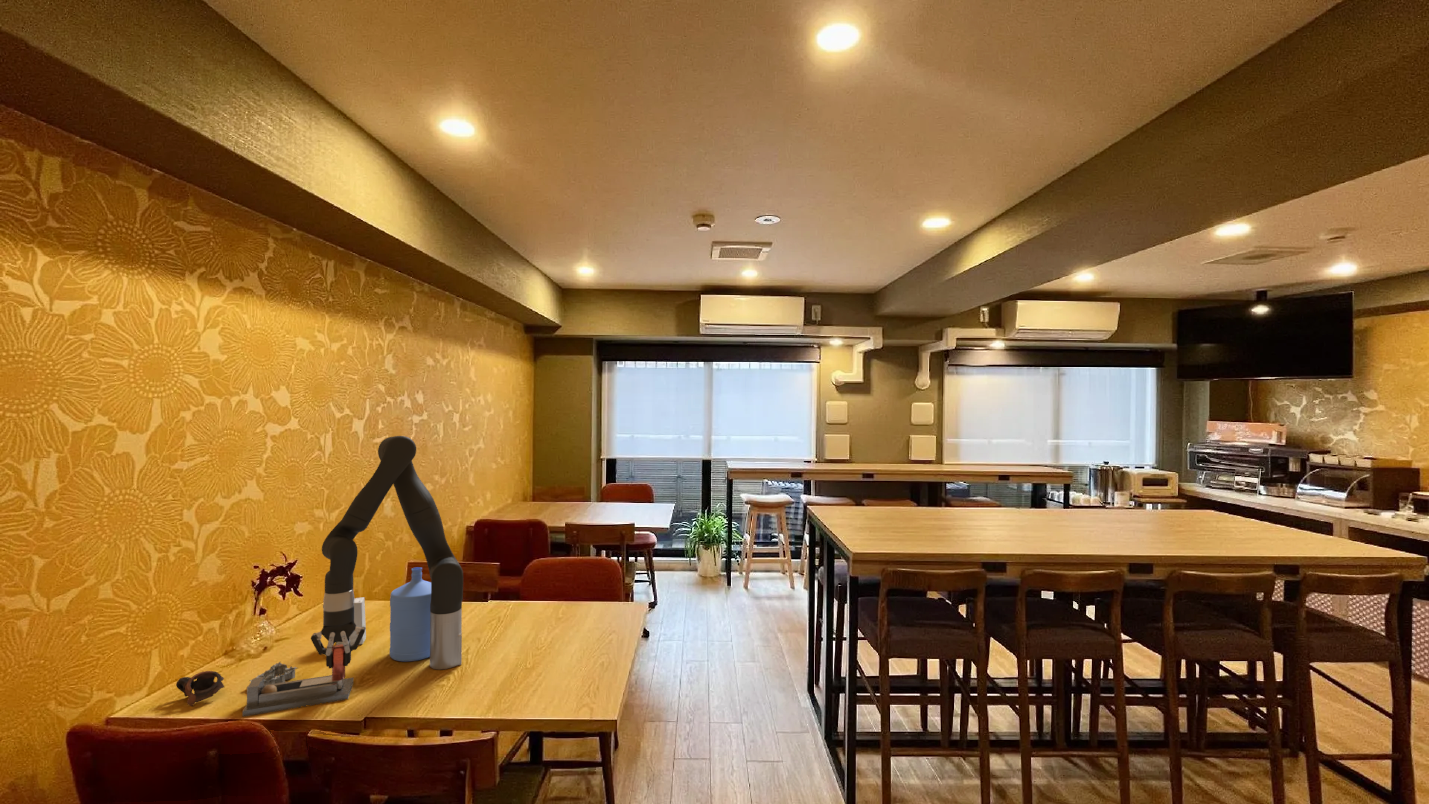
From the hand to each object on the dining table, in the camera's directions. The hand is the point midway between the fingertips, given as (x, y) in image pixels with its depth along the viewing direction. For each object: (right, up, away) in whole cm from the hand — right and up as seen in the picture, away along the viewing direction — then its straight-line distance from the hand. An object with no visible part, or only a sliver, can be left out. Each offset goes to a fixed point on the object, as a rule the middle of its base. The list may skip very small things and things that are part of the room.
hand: (338, 665), depth 173 cm
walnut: (-15, -6, -7) cm, 18 cm away
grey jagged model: (-23, -8, +6) cm, 25 cm away
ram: (-3, -6, -1) cm, 7 cm away
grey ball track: (-8, -8, -4) cm, 12 cm away
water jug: (+9, -8, +28) cm, 30 cm away
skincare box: (-18, -8, +35) cm, 40 cm away
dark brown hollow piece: (-37, -8, -4) cm, 38 cm away
